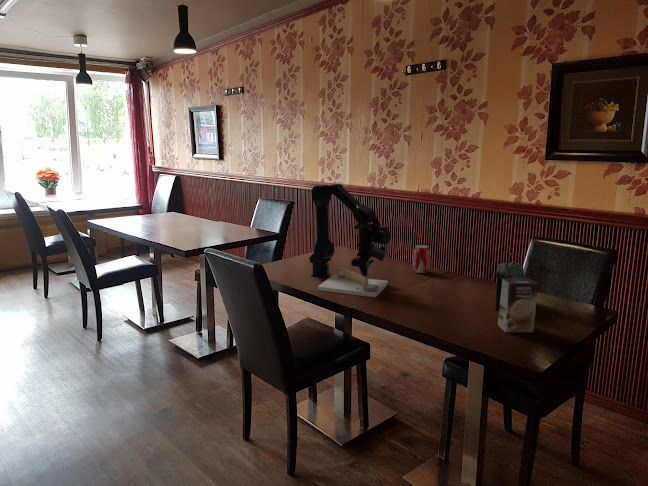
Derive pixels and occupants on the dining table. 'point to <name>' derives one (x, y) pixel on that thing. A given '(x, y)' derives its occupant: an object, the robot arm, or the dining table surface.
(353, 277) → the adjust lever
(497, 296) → the ceramic cat
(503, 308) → the coffee box
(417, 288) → the dining table surface
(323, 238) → the robot arm
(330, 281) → the base
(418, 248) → the soda can
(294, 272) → the dining table surface
